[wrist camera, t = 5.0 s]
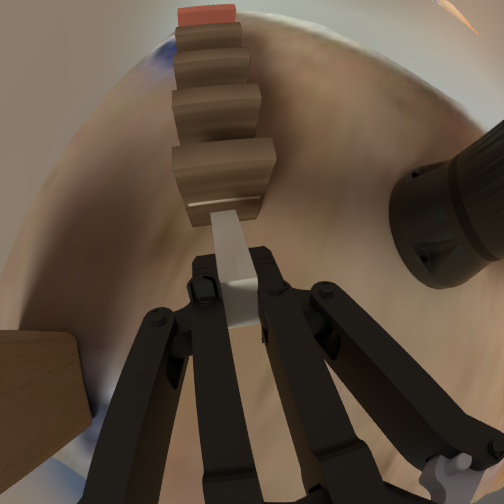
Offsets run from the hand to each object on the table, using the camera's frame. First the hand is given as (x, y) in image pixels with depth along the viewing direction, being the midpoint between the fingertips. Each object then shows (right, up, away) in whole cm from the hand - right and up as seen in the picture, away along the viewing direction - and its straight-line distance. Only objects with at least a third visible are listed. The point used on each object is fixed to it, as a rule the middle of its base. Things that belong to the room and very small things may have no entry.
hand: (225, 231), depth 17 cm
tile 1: (-1, +2, +9) cm, 9 cm away
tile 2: (-2, +7, +10) cm, 12 cm away
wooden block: (-20, -14, +4) cm, 25 cm away
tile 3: (-3, +12, +11) cm, 16 cm away
